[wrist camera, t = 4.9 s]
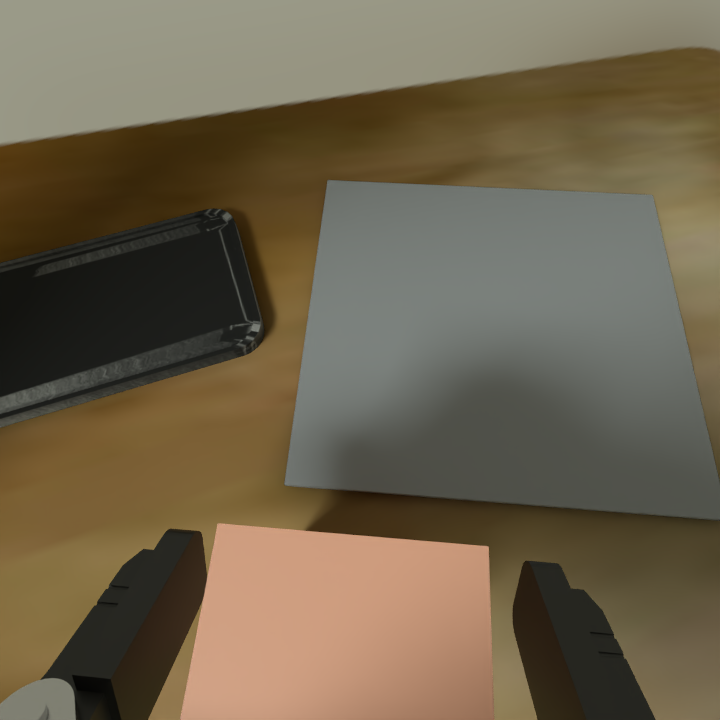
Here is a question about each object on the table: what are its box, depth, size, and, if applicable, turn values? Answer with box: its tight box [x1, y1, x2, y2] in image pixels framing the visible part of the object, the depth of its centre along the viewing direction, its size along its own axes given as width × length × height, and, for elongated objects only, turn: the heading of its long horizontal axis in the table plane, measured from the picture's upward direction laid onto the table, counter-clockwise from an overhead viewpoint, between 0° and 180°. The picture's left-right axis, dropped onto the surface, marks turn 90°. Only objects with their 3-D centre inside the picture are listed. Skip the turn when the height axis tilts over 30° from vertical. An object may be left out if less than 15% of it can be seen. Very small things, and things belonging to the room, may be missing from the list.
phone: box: [0, 209, 264, 428], centre depth 20 cm, size 8×1×15 cm
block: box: [180, 524, 494, 720], centre depth 11 cm, size 4×4×10 cm
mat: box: [284, 180, 720, 521], centre depth 19 cm, size 16×15×1 cm
